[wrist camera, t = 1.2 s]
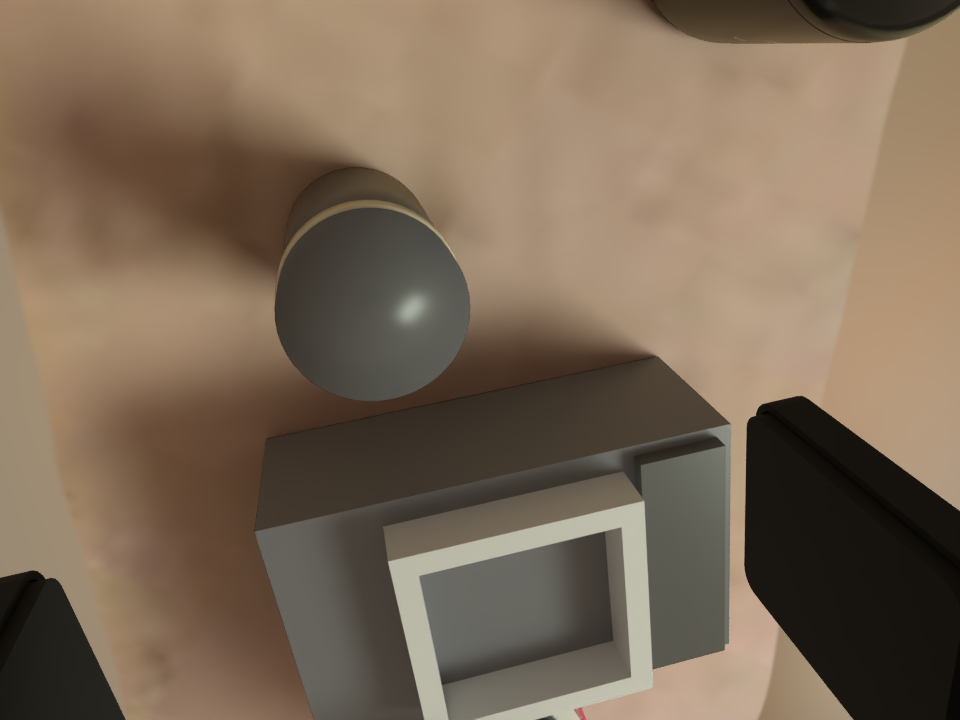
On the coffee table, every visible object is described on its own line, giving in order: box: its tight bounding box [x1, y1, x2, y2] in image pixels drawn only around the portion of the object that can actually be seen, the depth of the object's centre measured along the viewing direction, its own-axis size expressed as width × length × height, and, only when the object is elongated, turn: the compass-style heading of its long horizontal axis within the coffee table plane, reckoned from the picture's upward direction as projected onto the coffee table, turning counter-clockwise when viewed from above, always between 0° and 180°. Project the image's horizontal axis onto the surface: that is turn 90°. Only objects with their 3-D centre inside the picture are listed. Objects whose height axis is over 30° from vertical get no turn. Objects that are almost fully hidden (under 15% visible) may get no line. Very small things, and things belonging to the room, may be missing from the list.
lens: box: [275, 168, 470, 401], centre depth 23 cm, size 5×5×8 cm
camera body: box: [254, 357, 731, 720], centre depth 28 cm, size 16×10×8 cm, turn 97°
